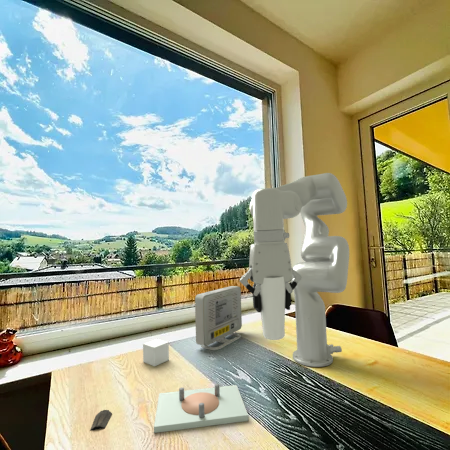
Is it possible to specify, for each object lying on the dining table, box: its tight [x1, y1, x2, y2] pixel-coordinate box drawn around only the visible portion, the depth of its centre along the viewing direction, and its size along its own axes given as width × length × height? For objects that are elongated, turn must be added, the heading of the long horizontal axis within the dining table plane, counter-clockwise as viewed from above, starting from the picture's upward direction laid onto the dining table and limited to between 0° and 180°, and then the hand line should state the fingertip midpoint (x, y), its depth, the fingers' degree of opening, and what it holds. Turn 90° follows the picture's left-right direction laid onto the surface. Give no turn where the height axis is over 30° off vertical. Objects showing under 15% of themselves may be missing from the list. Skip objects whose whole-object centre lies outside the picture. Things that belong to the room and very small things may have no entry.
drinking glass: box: [259, 277, 286, 341], centre depth 68 cm, size 7×7×15 cm
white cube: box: [142, 338, 170, 367], centre depth 92 cm, size 6×6×6 cm
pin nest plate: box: [153, 383, 249, 434], centre depth 65 cm, size 20×13×4 cm, turn 99°
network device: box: [194, 285, 243, 351], centre depth 110 cm, size 26×9×20 cm, turn 144°
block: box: [89, 409, 113, 431], centre depth 61 cm, size 4×6×2 cm, turn 11°
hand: (272, 309), depth 68 cm, fingers closed on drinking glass, 6 cm apart
